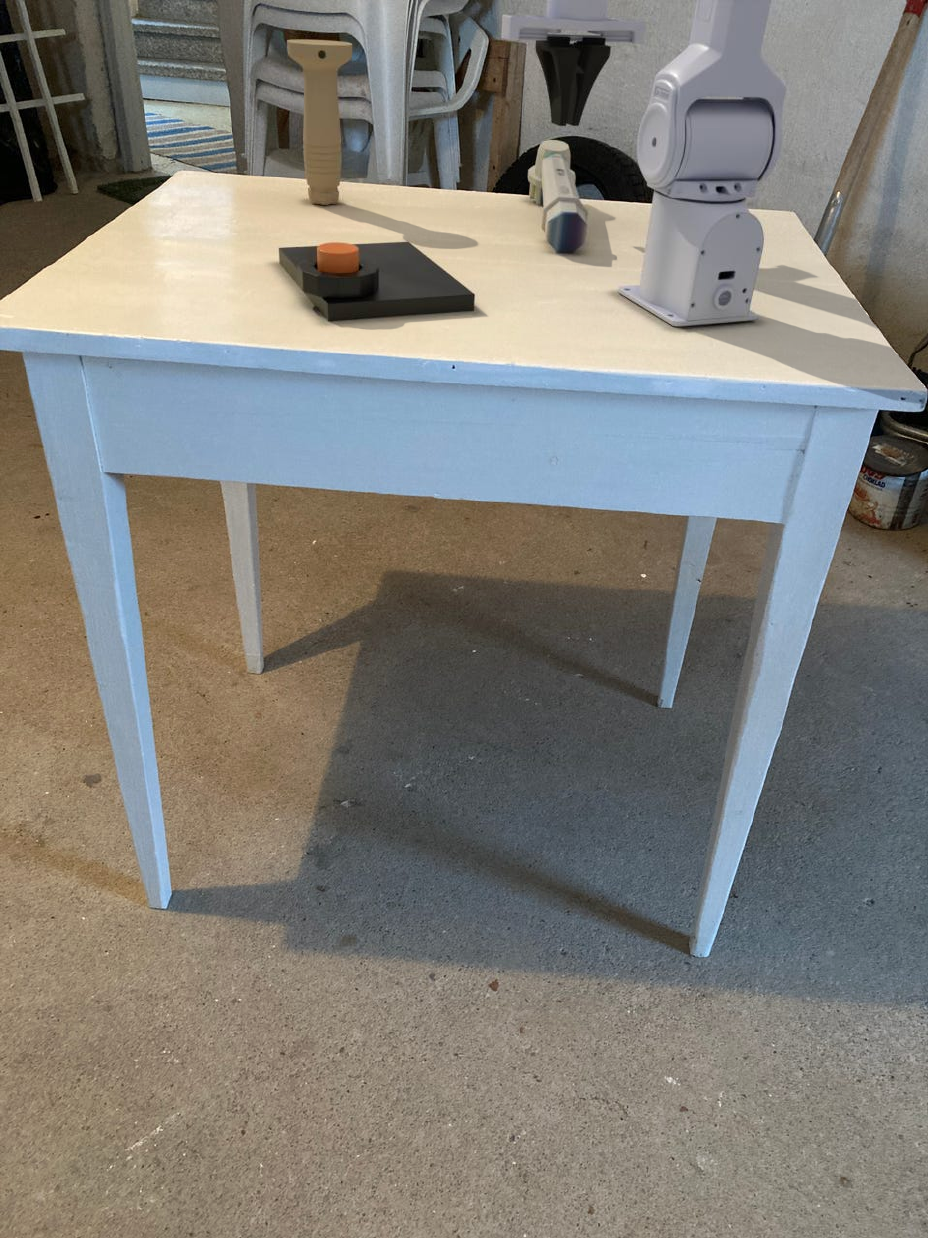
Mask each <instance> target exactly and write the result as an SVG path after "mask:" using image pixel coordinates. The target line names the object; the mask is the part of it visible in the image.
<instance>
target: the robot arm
mask: <svg viewBox="0 0 928 1238" xmlns="http://www.w3.org/2000/svg"><path fill="white" fill-rule="evenodd" d="M608 3H609V0H547V1H546V12H545V13H546V14H502V19H501V34H500V38H501V39H503V40H506V41H519V40H520V41H535V46H534V47H535V53H536V55H537V58H538V60H539V64H540V66H541V69H542V73H543V76H544V79H545V85H546V89H547V95H548V100H549V110H550V119H551V120H550V123H551V124H553V125H556V126H559V127H566V126H567V125H569V126H572V127H579V126H580V123H581V120H582V116H583V112H584V110H585V106H586V104H587V101H588V98H589V96H590V94H591V91H592V89H593V87H594V85H595V82H596V81H597V79H598V77H599V75H600V74H601V71H602V70H603V68H604V66H605V65H606V63H607V62H608V60H610V57H611V51H612V46H611V45H607V44H606V43H625V44H626V43H631V44H637V45H638V44H640V45H643V44H644V42H645V33H646V27H647V21H646V20H641V19H634V18H633V19H632V18H616V17H615V18H614V17H607V14H608V13H607V11H608ZM771 5H772V0H696V3H695V9H694V14H693V20H692V25H691V32H690V36H689V43H688V46H687V47H686V48H685V49H684V50H683V51H682V52H681V53H680V54H679V55H677V56H676V57H675V58H674V59H672V60H671V61H670V62H669V63H668V64H667V65H665V66H664V67H663V68H662V69H661V70H660V71H659V72H658V73H656V75H655V76H654V82H653V85H652V90H651V93H650V99H649V101H648V104H647V108H646V110H645V113H644V114H643V117H642V118H641V121H640V125H639V128H638V132H637V139H636V156H637V162H638V167H639V170H640V172H641V174H642V176H643V178H644V180H645V182H646V186H647V187H648V188H650V189H652V190H653V193H652V194H653V195H652V200H651V201H652V202H651V208H650V215H649V221H648V227H647V234H646V240H645V246H644V254H643V261H642V265H641V273H640V280H639V284H635V285H621V286H618V289H617V292H618V293H619V295H622V296H623V297H625V298H626V299H629V300H630V301H632V302H633V303H635V304H637V305H638V306H640V307H642V308H643V309H645V310H646V311H648V312H650V313H651V314H653V315H655V317H658V318H659V319H660V320H663V321H664V322H666V323H668V324H669V325H671V326H673V327H690V326H700V325H701V326H702V325H712V324H724V323H735V322H736V323H737V322H748V321H755V320H757V318H758V317H757V316H758V314H757V313H756V312H754V311H753V310H751V305H752V300H753V296H754V291H755V286H756V282H757V277H758V273H759V268H760V263H761V259H762V255H763V250H764V244H765V236H764V235H765V234H764V229H763V226H762V223H761V222H760V220H759V218H757V216H755V215H754V214H753V213H752V212H750V210H749V208H748V206H747V205H748V203H747V198H755V196H756V192H757V188H758V186H760V185H761V184H763V183H764V182H765V181H766V180H767V179H768V178H769V177H770V176H771V174H772V172H773V171H774V169H775V166H776V165H777V163H778V160H779V158H780V155H781V152H782V147H783V141H784V138H783V137H784V130H783V129H784V128H783V112H784V102H785V97H786V95H787V94H786V93H787V86H786V84H785V83H784V82H783V80H782V78H781V77H780V76H779V75H778V74H777V73H776V71H775V69H773V67H772V66H771V65H770V64H769V62H767V61H768V60H766V58H765V57H764V56H763V55H762V54H761V52H762V47H763V42H764V37H765V32H766V28H767V23H768V19H769V13H770V9H771ZM562 30H567V31H584V32H587V33H591V34H566V33H565V34H561V33H562ZM572 42H573V43H572ZM706 97H707V98H706ZM708 97H717V98H708ZM718 97H719V98H718ZM720 97H723V98H720ZM724 97H725V98H724ZM728 97H730V98H728Z"/></svg>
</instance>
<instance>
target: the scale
mask: <svg viewBox="0 0 928 1238" xmlns="http://www.w3.org/2000/svg"><path fill="white" fill-rule="evenodd" d="M351 244H352V245H355V246H357V247H358V248H359V271H356V272H353V273H328V272H323V271H320V270H318V264H317V247H318V246H319V245H309V246H308V245H307V246H288V247H287V246H284V247H278V261H279V262H278V263H279V265H280V266H281V267H282V268H283V269H284V271H285V272H286V273H287V274H288V275H289V277H290V278H291V279H292V280H293V282H294V283H295V284H296V285H297V286H298V287H299V289H300V290H301V291H302V292H303V294H304V295H305V296H306V297H307V298H308V299H309V301H310V302H311V304H313V305H314V307H315V309H317V310H318V311H319V313H320V314H321V315H322V316H323V317H324V319H325V320H326V321H327V322H340V321H341V322H343V321H355V320H356V321H357V320H368V319H369V320H371V319H382V318H396V317H410V316H423V315H435V314H437V315H438V314H449V313H465V312H474V311H475V301H476V300H475V299H476V294H475V293H474V292H473V291H471V290H470V289H469V288H468V287H466V286H465V285H464V284H463V283H461V282H460V281H459V280H457V279H456V278H455V277H454V276H453V275H451V274H450V273H448V272H447V271H446V270H445V269H444V268H442V267H441V266H440V265H439V264H437V263H436V262H435V261H433V260H432V259H431V258H430V257H429V256H428V255H426V254H425V253H424V252H422V251H421V250H420V249H418V248H417V247H416V246H415V245H413V244H412V243H411V242H409V241H393V242H391V241H390V242H370V243H351Z"/></svg>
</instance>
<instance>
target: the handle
mask: <svg viewBox="0 0 928 1238" xmlns="http://www.w3.org/2000/svg"><path fill="white" fill-rule="evenodd" d="M286 48H287V55H288V56H289V58H291V59H292V61H294V62H296V63H297V64H299V66H301V68H302V72H303V73H302V74H303V126H302V127H303V128H302V130H303V133H302V142H303V144H302V149H303V162H304V163H303V164H304V165H303V167H304V174H305V180H306V185H308V186H309V187H308V188H307V193H308V199H309V202H310V203H311V204H314V205H322V206H328V205H335V204H338V202H339V198H340V191H339V188H338V187H339V186H340V185H341V184H340V183H341V176H342V163H343V162H342V161H343V159H342V154H343V153H342V133H341V121H340V104H339V92H338V91H339V88H338V76H339V75H338V74H339V69H340V67H342V66H343V65H344V64H347V63H348V62H349V61H350V60H351V59H352V58H353V43H351V42H348V41H341V40H339V41H338V40H329V39H327V40H326V39H287V40H286Z"/></svg>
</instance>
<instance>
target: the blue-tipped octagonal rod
mask: <svg viewBox="0 0 928 1238" xmlns="http://www.w3.org/2000/svg"><path fill="white" fill-rule="evenodd" d="M576 178H577V177H576V173H575V171H573V170H572V169H571V150H570V146H569V144H568V143H566V142H565V141H561V140H557V139H548V140H544V141H542V142H541V143H540V145H539V147H538V148H537V155H536V159H535V165H532V166H531V167H530V168H529V169H527V180H528V182H529V192H528V193H529V194H528V195H529V196H528V197H529V200H535V204H536V205H539V206H542V207H543V208H542V216H541V225H540V227H541V230H542V231H543V232H544V233H545V237H546V242H547V243H548V244H549V246H551V247H552V248H553V250H554V251H555V252H556V253H562V254H563V253H564V254H573V253H574V252H576V251H577V250H578V249H579V248H581V247H582V246H583V245H584V244H586V239H587V234H588V233H587V232H588V216H589V210H588V209H587V208H586V206H585V205H584V204H583V203H582V201H581V199H580V196H579V195H580V194H579V192H578V189H577V187H576Z"/></svg>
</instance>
